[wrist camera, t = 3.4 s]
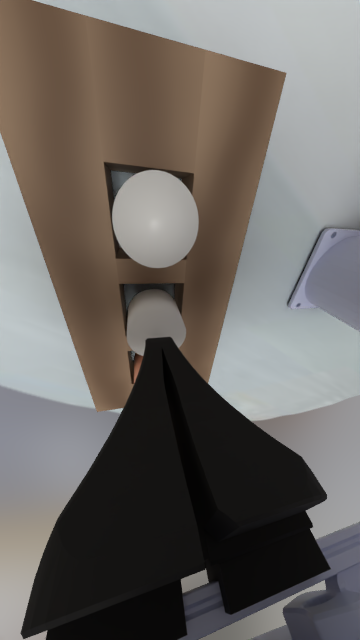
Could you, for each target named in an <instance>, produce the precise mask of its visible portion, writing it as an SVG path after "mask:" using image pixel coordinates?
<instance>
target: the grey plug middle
mask: <svg viewBox="0 0 360 640" xmlns="http://www.w3.org/2000/svg"><path fill="white" fill-rule="evenodd" d="M159 337H171V338H172V339H173V340H174V342H175V344H176V345H177V347H178V348H179V347H180V346H181V345H182V344H183V342H184V340H185V337H186V328H185V325H184V322H183V320H182V317H181V315H180V312H179V310H178V307H177V305H176V302H175V300H174V298H173V297H172V296H171V295H170V294H169V293H167V292H165V291H163V290H159V289H148V290H144V291H142V292H140V293H138V294H137V295H135V296H134V297H133V299H132V300H131V302H130V304H129V307H128V322H127V342H128V345H129V346H130V348H131V349H132V350H133V351H134V352H136V353H137V354H139V355H141V356H143V355H144V350H145V340H146V339H147V338H159Z"/></svg>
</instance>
